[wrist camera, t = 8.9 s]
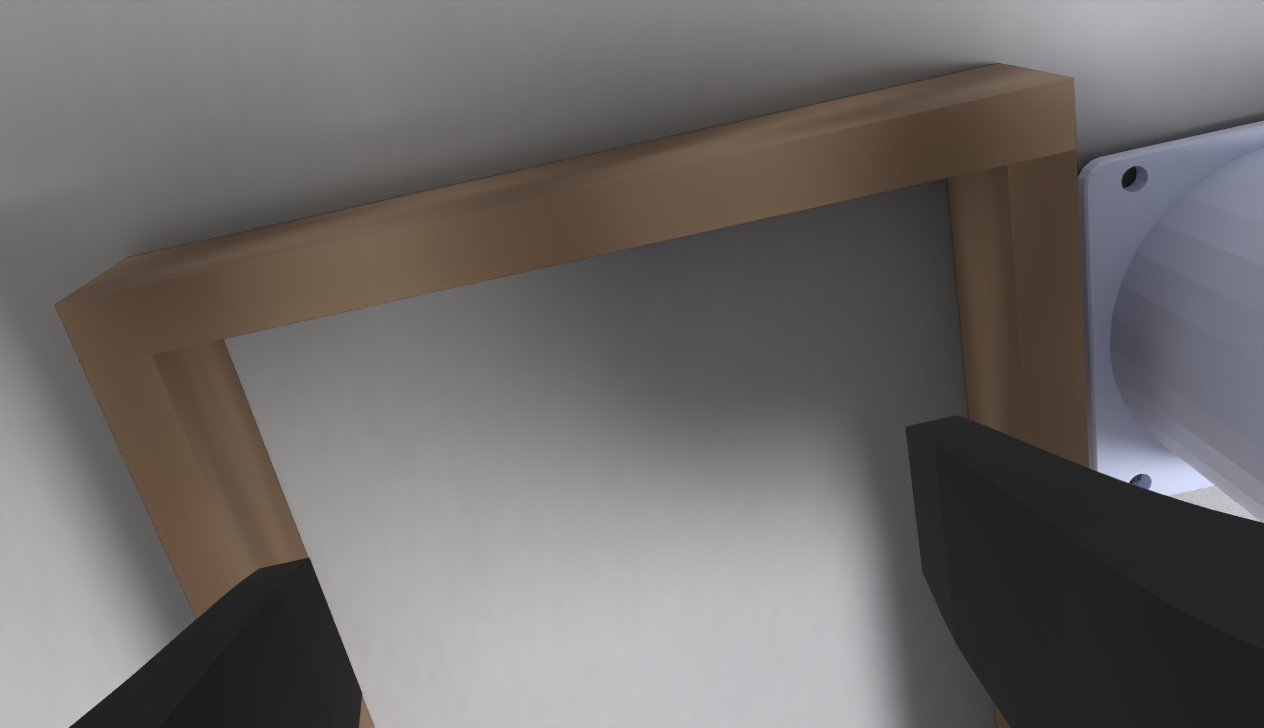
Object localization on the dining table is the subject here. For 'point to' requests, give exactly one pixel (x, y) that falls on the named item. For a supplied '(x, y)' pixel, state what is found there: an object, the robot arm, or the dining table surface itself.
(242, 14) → the dining table surface
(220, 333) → the open wooden frame
